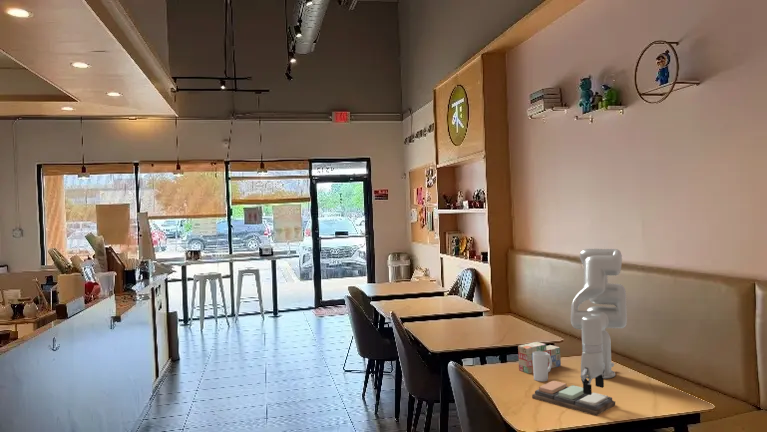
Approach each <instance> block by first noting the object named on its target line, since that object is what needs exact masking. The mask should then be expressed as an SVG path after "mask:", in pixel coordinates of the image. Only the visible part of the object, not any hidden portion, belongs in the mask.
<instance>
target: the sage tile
mask: <svg viewBox="0 0 767 432" xmlns="http://www.w3.org/2000/svg"><path fill="white" fill-rule="evenodd" d="M567 387H568V388H566V389H564V390H562V391H560V392H559V396H561V397H565V398H568V399H572V400H573V399H575V398H576V397H578V396H580V395H582V394H584V393H583V386H577V385H570V386H567Z"/></svg>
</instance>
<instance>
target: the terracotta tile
mask: <svg viewBox="0 0 767 432" xmlns="http://www.w3.org/2000/svg"><path fill="white" fill-rule="evenodd" d="M566 386H567V383H566V382H565V383H564V382H560V381H556V380H552V381H549V382H546V383H544V384H542V385H541V386H539V387H538V389H539V391H542V392H545V393H549V394H554V393H556V392H558V391H560V390H562V389H564V388H566Z"/></svg>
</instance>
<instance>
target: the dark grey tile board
mask: <svg viewBox="0 0 767 432" xmlns="http://www.w3.org/2000/svg"><path fill="white" fill-rule="evenodd" d="M568 387H569V386H568V385H566V388H568ZM566 388H564V389H566ZM564 389H562V390H564ZM562 390H560V391H562ZM560 391H558V392H556V393H554V394H549V393H545V392H542V391H539V388H537V389H536V390H535V391H534V393H532V395H531V397H532V399H535V400H538V401H541V402H545V403H548V404H552V405H557V406H559V407H563V408H566V409H567V408H568V409H571V410H574V411H578V412H582V413H584V414H585V413H586V414H589V415H591V416H596V417H597V416H599V415H601V414H602V413H604V412H606V411H608V410H610V409H611V408H612V407H615V406H616V400H613V397H611V396H608V399H606V400H604V401H602V402H601V403H599V404H597V405H595V406H593V405H590V404H586V403H582V402H580V399H582V398H584V397H586V396H588V394H585V393H584V394H582V395H580V396H578V397H576V398H575V399H573V400H572V399H568V398H565V397H561V396H559V392H560Z"/></svg>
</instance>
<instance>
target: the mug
mask: <svg viewBox="0 0 767 432" xmlns="http://www.w3.org/2000/svg"><path fill="white" fill-rule="evenodd" d="M548 358H549V361H550V363H549V367H548ZM551 366H552V359H551V356H550V354H548V353H547V352H542V351H536V352H533V372H532V374H533V380H534V381H537V382H547V381H549V372H551V370H552V368H551Z"/></svg>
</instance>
